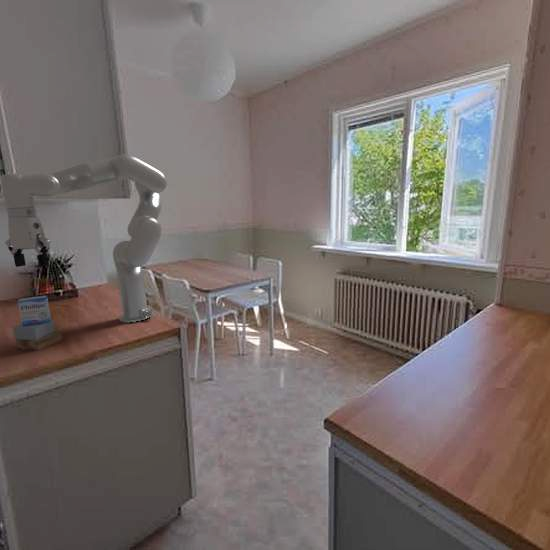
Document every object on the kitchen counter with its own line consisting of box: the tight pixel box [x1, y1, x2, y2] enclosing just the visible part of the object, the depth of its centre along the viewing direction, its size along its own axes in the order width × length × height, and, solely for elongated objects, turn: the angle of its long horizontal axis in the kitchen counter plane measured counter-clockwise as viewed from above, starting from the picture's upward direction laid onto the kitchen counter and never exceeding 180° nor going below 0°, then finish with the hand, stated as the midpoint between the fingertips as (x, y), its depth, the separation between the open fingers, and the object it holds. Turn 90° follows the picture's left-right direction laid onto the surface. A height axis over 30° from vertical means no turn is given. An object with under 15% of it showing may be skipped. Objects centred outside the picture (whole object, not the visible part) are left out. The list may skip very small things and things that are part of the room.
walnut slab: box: [15, 329, 63, 351], centre depth 116 cm, size 9×9×4 cm
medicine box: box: [17, 294, 52, 326], centre depth 115 cm, size 8×4×9 cm, turn 120°
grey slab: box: [12, 319, 57, 340], centre depth 115 cm, size 8×8×4 cm
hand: (32, 266), depth 114 cm, fingers open, 9 cm apart
